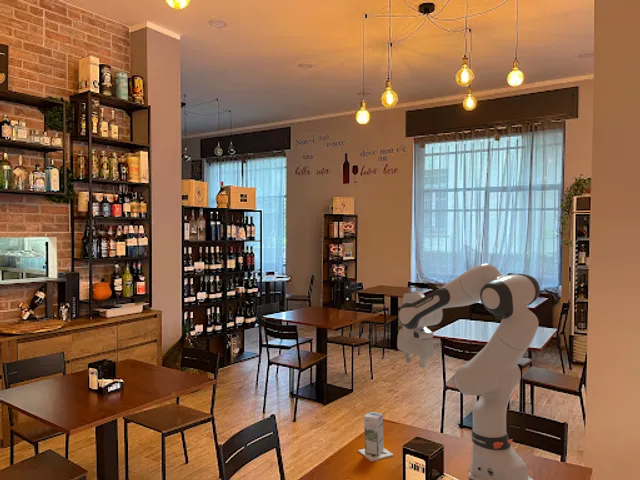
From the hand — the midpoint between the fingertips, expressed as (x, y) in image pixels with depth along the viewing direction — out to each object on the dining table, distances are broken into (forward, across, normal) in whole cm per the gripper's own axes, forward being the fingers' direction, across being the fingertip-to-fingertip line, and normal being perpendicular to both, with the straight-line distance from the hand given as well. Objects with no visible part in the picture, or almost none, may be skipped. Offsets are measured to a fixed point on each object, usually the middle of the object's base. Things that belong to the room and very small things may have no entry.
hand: (415, 364), depth 199 cm
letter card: (+31, +2, -21) cm, 37 cm away
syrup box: (+30, +2, -21) cm, 37 cm away
